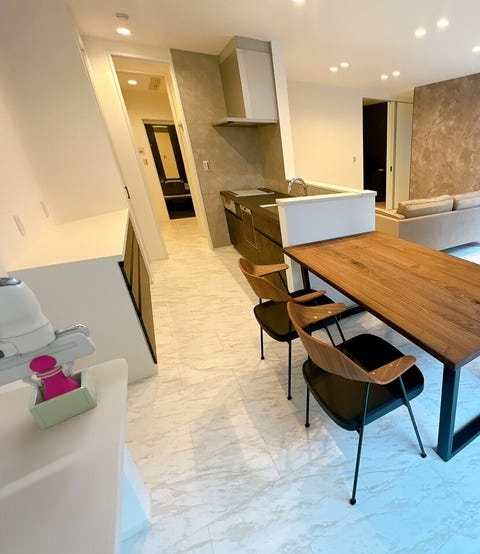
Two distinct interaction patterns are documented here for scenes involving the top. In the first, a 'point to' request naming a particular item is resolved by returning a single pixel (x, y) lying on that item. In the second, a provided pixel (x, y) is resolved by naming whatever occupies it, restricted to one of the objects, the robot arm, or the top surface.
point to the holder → (63, 402)
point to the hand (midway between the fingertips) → (56, 381)
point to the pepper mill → (52, 377)
